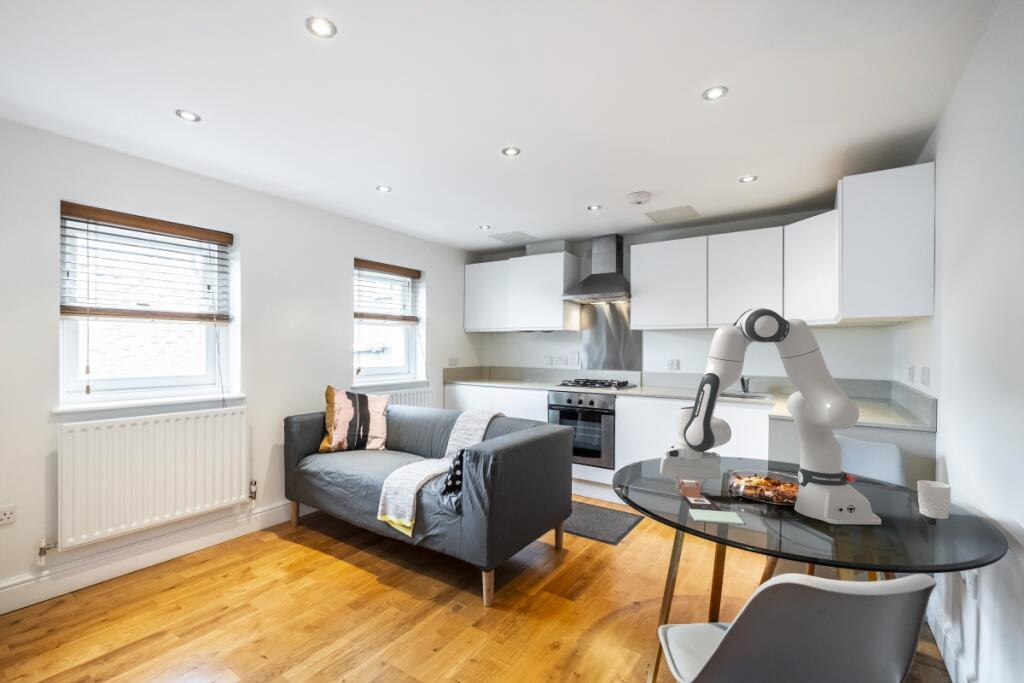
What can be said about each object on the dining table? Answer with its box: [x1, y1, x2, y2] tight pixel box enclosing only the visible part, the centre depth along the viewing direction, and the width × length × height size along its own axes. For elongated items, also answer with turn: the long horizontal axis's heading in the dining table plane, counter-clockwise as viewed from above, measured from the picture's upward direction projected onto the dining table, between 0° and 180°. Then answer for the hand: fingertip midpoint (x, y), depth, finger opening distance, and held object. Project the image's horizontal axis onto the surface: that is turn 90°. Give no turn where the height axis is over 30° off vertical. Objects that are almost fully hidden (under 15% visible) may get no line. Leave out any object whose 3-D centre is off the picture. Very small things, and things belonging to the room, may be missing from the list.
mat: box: [688, 508, 745, 526], centre depth 142 cm, size 14×9×1 cm, turn 79°
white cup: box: [916, 479, 952, 520], centre depth 145 cm, size 8×8×10 cm
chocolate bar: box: [679, 493, 723, 511], centre depth 153 cm, size 9×1×18 cm
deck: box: [679, 478, 701, 498], centre depth 163 cm, size 9×6×4 cm, turn 164°
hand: (689, 489), depth 163 cm, fingers closed on deck, 6 cm apart
